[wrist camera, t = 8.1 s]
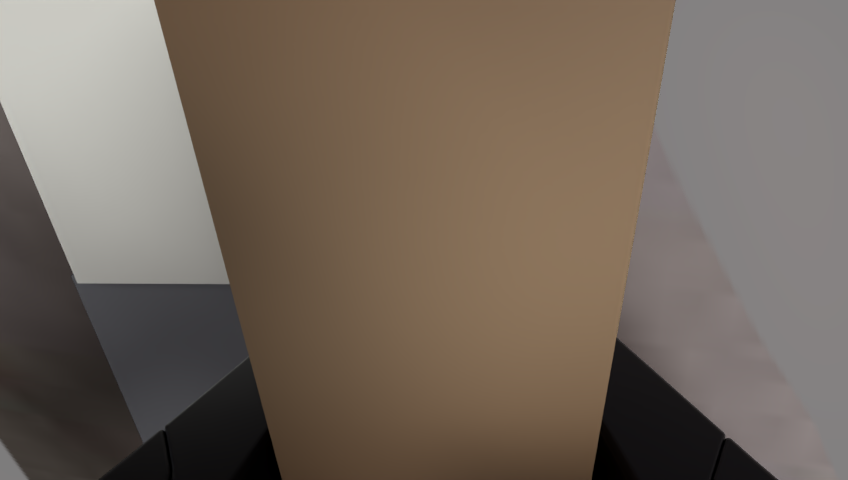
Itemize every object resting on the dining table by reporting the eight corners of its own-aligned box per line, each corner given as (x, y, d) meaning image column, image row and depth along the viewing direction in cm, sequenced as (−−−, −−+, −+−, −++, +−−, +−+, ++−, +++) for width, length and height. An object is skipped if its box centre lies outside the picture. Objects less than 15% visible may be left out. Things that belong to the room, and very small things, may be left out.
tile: (289, 284, 20) (77, 283, 20) (303, 252, 22) (109, 252, 22) (215, -108, 14) (-84, -97, 14) (245, -105, 16) (-20, -94, 16)
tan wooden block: (507, 513, 13) (533, 812, 9) (397, 510, 13) (368, 802, 9) (554, -291, 6) (831, -893, 2) (313, -273, 6) (-56, -775, 2)
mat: (304, 516, 30) (302, 523, 29) (179, 512, 30) (176, 519, 30) (246, 270, 22) (243, 275, 21) (77, 269, 22) (70, 275, 22)
